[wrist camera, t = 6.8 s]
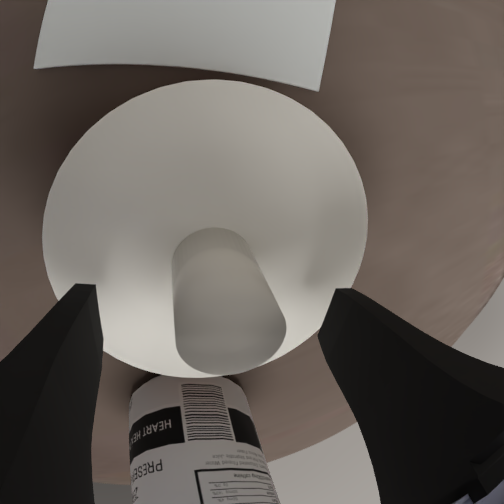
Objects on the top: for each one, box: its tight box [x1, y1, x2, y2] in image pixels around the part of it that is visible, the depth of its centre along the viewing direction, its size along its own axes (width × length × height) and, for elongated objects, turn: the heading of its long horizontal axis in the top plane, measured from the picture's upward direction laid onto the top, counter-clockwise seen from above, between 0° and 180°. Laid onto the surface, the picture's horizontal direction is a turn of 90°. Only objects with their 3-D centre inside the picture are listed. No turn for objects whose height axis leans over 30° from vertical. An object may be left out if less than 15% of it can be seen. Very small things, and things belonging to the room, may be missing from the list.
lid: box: [42, 79, 368, 378], centre depth 9 cm, size 12×12×4 cm
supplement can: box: [129, 375, 280, 504], centre depth 13 cm, size 8×8×15 cm
